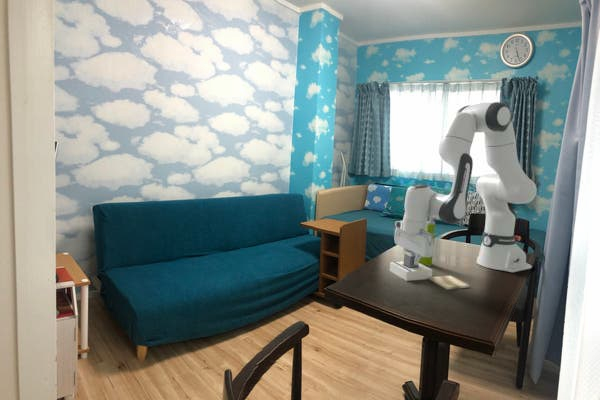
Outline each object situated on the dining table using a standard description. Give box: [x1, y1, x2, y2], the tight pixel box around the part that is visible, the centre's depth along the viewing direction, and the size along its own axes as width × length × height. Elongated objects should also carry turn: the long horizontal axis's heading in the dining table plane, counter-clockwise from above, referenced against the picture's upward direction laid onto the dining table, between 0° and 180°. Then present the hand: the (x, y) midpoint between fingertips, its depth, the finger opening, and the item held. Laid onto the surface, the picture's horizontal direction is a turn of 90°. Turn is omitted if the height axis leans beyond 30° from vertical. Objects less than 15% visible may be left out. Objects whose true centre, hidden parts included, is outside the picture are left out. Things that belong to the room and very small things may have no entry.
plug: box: [403, 250, 419, 269], centre depth 146 cm, size 4×4×9 cm
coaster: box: [428, 275, 471, 290], centre depth 139 cm, size 10×10×1 cm
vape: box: [419, 217, 436, 267], centre depth 160 cm, size 4×6×20 cm, turn 49°
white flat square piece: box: [389, 260, 433, 282], centre depth 146 cm, size 11×11×4 cm
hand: (411, 261), depth 146 cm, fingers closed on plug, 4 cm apart
